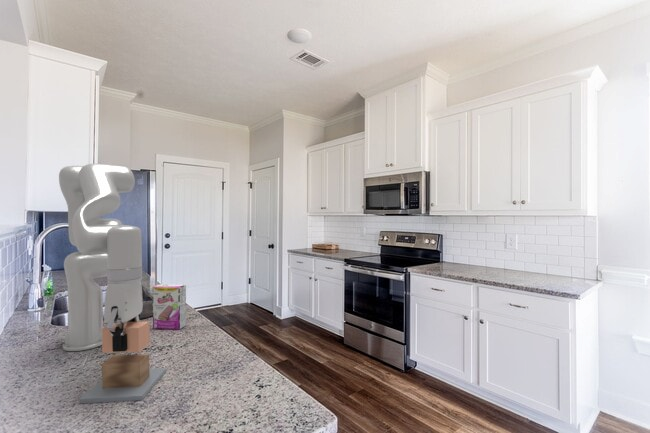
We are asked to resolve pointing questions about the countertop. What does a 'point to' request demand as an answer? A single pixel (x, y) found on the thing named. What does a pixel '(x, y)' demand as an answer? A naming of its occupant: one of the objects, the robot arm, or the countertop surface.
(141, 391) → the baseplate
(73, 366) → the countertop surface
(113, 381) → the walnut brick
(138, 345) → the terracotta brick
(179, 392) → the countertop surface
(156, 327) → the candy bar box
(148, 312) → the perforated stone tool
